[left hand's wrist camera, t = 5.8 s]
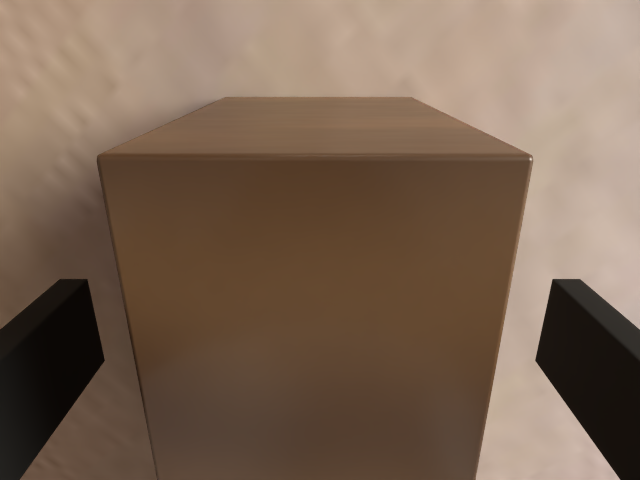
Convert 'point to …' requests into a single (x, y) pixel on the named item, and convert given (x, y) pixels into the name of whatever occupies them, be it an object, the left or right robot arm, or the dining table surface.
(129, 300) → the bar
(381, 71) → the dining table surface
